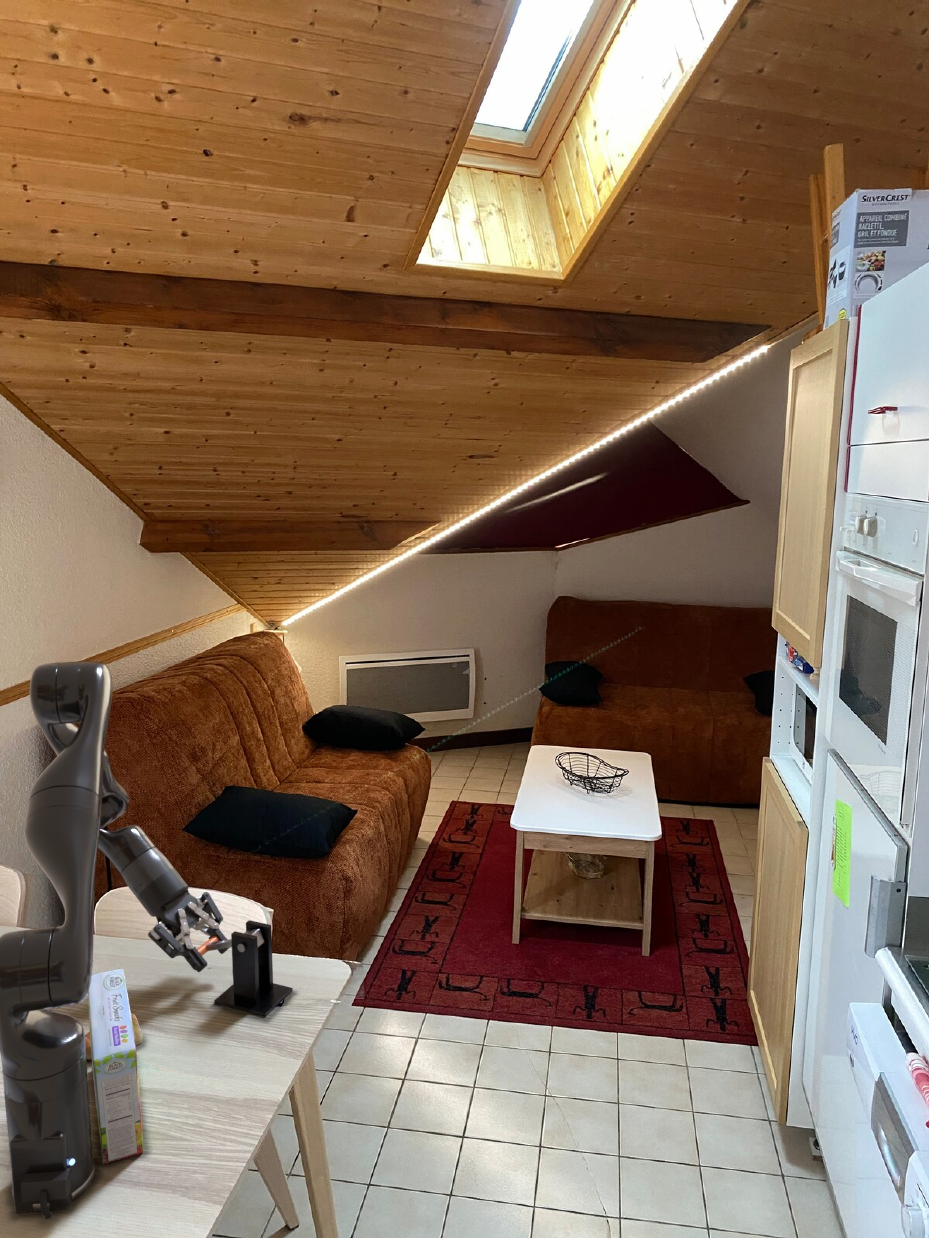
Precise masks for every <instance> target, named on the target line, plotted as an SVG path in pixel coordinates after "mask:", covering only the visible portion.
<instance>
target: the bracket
mask: <svg viewBox="0 0 929 1238" xmlns="http://www.w3.org/2000/svg"><path fill="white" fill-rule="evenodd" d="M254 929H260V931H261V934H262V937H263V939H264V943H262V944H261V945H260V946H259V947H258V943H257V936H254V935H249V934H245V932H246V931H249V930H254ZM245 932H240V931H233V932H231V933H230V936H231V937H230V939H231V942H232V947H231V961H232V962H231V964H232V984H231V985H230V986H229V987H228V988H227V989H226V990H225V991H223V992H221V994H219V996H217V998H215V999H214V1001H213V1003H214V1005H218V1006H222V1007H224V1008H229V1009H233V1010H237V1011H241V1012H244V1013H248V1014H252V1015H256V1016H259V1017H263V1018H266V1017H268V1016H269V1015H270V1014H271V1013H272V1012H273V1010H276V1008H277V1007H278V1006H279V1005H280V1004H281V1003H282V1002H284V1001H285V999H286V998H287V997H288V996H289V995H290V994H291V993H292V992H294V990H293V987H290V986H287V985H283V984H279V983H275V982H274V970H273V965H274V964H273V943H272V942H273V941H272V938H273V937H272V935H273V934H272V925H271V924H268V923H264V922H260V921H255V920H250V919H248V920H247V921H246V922H245Z"/></svg>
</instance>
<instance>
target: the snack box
mask: <svg viewBox="0 0 929 1238" xmlns="http://www.w3.org/2000/svg"><path fill="white" fill-rule="evenodd" d="M126 983H127V981H126V976H125V971H124V968H123V967H121V968H117V969H113V970H109V971H103V972H98V973H94V974H93V973H92V979H91V984H90V988H89V991H88V994H87V1004H88V1019H89V1020H88V1024H89V1031H90V1041H91V1055H92V1059H91V1067H92V1079H93V1087H94V1099H95V1107H96V1116H97V1125H98V1134H99V1142H100V1143H99V1144H100V1150H101V1162H102V1165H106V1164H110V1163H114V1162H116V1161H120V1160H123V1159H127V1158H129V1157H133V1156H136V1155H139V1154H142V1153H144V1151H145V1150H144V1136H143V1135H144V1134H143V1119H142V1106H141V1105H142V1104H141V1092H140V1091H141V1090H140V1089H141V1088H140V1079H139V1065H138V1055H137V1047H136V1046H137V1045H135V1038H134V1031H133V1024H132V1018H131V1013H132V1012H131V1006H130V1000H129V994H128V988H127V984H126Z"/></svg>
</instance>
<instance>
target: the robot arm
mask: <svg viewBox="0 0 929 1238" xmlns="http://www.w3.org/2000/svg"><path fill="white" fill-rule="evenodd" d="M113 684H114V683H113V676H112V672H111V669H110V668H109V667H108V665H107V664H106V663H104V662H102V661H97V660H83V661H81V660H79V661H60V662H58V661H57V662H49V663H43V664H40V665H38V666H36V667H35V668H34V670H33V672H32V674H31V677H30V682H29V702H30V706H31V710H32V714H33V716H34V718H35V721H36V722H37V724H38V726H39V727H40V730H41V731H42V733H43V735H44V737H45V738H46V740H47V742H48V743H49V745H50V747H51V748H52V749H53V751H54V753H55V754H56V757H55V758H54V760H52V761H51V762H50V763H49V764H48V766H47V767H46V768H44V770H43V771H42V772H41V773H40V775H39V776H38V778H37V779H36V780H35V782H34V784H33V785H32V787H31V788H30V791H29V796H28V802H27V808H26V816H25V823H24V831H23V832H24V839H25V844H26V847H27V849H28V850H29V852H30V854H31V856H32V857H33V859H34V860H35V861H36V863H37V864H38V866H39V868H40V869H41V870H42V871H43V873H44V874H45V876H46V877H47V878H48V880H49V881H50V883H51V884H52V886H53V887H54V890H55V891H56V893H57V896H58V897H59V899H60V901H61V904H62V906H63V910H64V915H65V916H64V922H63V924H62V925H57V926H48V927H39V928H31V929H22V930H21V929H20V930H15V931H9V932H6V933H4V934H1V936H0V1059H1V1071H2V1072H1V1073H2V1081H3V1095H4V1105H5V1118H6V1129H7V1140H8V1141H7V1142H8V1152H9V1162H10V1171H11V1172H10V1173H11V1194H12V1199H13V1202H14V1211H15V1213H26V1212H41V1214H42V1217H44V1218H45V1219H46V1220H50V1219H51V1218H52V1217H53V1214H52V1212H51V1211H52V1210H64V1209H68V1208H69V1207H71V1203H72V1202H73V1201H74V1200H75V1199H77V1198H78V1197H79V1196H80V1195H82V1194H83V1193H84V1192H85V1191H86V1190H87V1189H88V1188H89V1186H90V1185H91V1183H92V1182H93V1180H94V1178H95V1174H96V1163H95V1162H96V1160H95V1156H94V1143H93V1132H92V1118H91V1117H92V1116H91V1105H90V1093H89V1092H90V1090H89V1089H90V1088H89V1079H88V1063H87V1059H86V1044H85V1035H86V1033H85V1028H84V1025H83V1024H82V1023H81V1021H80V1020H79V1019H78V1018H76V1017H74V1016H72V1015H71V1014H67V1013H63V1012H60V1011H59V1012H58V1011H54V1010H50V1009H57V1008H64V1007H70V1006H75V1005H79V1004H80V1003H82V1002H83V1001H85V999H86V998H87V997H88V991H89V988H90V984H91V979H92V975H93V970H94V969H93V968H94V966H93V965H94V932H95V931H94V929H95V928H94V927H95V926H94V925H95V924H94V922H95V921H94V920H95V919H94V918H95V917H94V916H95V915H94V914H95V913H94V912H95V877H96V867H97V858H98V850H99V851H100V852H102V853H103V855H104V856H106V858H107V859H108V860H109V861H110V862H111V864H112V865H113V867H114V868H115V869H116V870H117V871H118V873H119V874H120V876H121V877H122V879H123V880H124V882H125V884H126V886H127V887H128V889H129V890H130V891H131V893H132V894H133V896H135V898H136V899H137V901H139V903H140V905H142V907H143V908H144V909H145V911H146V912H147V914H149V916H150V917H153V918H154V917H155V918H156V922H157V923H156V924H155V926H154V927H152V928H151V929H150V930H149V931H148V933H147V936H148V937H149V938H150V940H152V942H154V943H155V945H157V946H158V947H159V948H160V949H161V950H162V951H163V952H164V954H166V955H167V956H168V957H169V958H170V959H175V958H176V957H183V958H184V959H185V960H186V962H187V963H188V965H190V967H191V968H192V970H194V971H196V972H197V973H200V972H202V971H203V970H205V968H206V967H207V966H208V961H207V960H206V959H205V958H204V956H203V955H201V954H200V953H199V952H198V950H197V947H196V946H194V944H193V942H192V939H191V930H190V929H193V930H195V931H200V932H201V933H203V934H204V935H206V936H207V937H208V940H209V939H211V938H212V937H213V936H217V937H218V938H219V941H223V940H228V938H227V937H226V936H225V935H224V933H223V932H222V931H221V929H220V925H221V923H222V922H223V921H224V917H223V915H222V913H221V911H220V910H219V907H218V906H217V904H216V902H215V901H214V899H213V898H212V896H211V894H210V893H209V892H208V891H205V892H203V893H202V894H201V895H199V896H197V897H196V896H194V895H192V894H191V893H190V892H189V885H188V884H187V882H186V881H185V880H184V879H183V877H182V876H181V875H180V873H179V872H178V871H177V870H176V868H175V867H174V866H173V865H172V863H171V862H170V861H169V859H168V858H167V857H166V856H165V855H164V853H163V852H162V851H160V850H159V848H157V846H156V845H155V844H154V842H153V840H151V839H150V838H149V836H148V835H147V834H146V832H145V831H144V829H143V828H141V826H139V825H138V824H130V825H127V826H125V827H122V828H120V829H117V830H107V829H104V828H105V827H107V826H108V825H110V824H111V823H113V822H114V821H116V820H117V819H118V818H120V817H121V816H122V815H124V814H125V813H126V812H127V811H128V808H129V806H130V797H129V794H128V792H127V790H126V789H125V788H124V787H123V786H122V785H121V784H120V782H119V781H118V780H117V779H116V778H115V777H114V775H113V771H112V770H113V769H112V766H111V762H110V758H109V755H108V752H107V750H106V744H107V743H106V742H107V737H108V729H109V723H110V717H111V711H112V703H113V693H114V689H113V688H114V685H113ZM76 724H79V725H78V726H77V725H76ZM193 946H194V947H193ZM230 948H231V947H229V948H223V949H218V950H217V951H218V953H219V954H220V955H223V954H225V953H226V952H227V951H228V950H229V949H230Z"/></svg>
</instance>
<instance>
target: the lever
mask: <svg viewBox="0 0 929 1238" xmlns="http://www.w3.org/2000/svg"><path fill="white" fill-rule="evenodd" d="M244 933H245V934H249V935H254V936H257V943H258V947H259V946H260V945H261V944H262V943H264V939H263V937H262V934H261V931H260V929H254V930H249V931H246V930H245V932H244ZM229 947H230V948H232V942H231V938H230V939H227V940H223V941H219V938H218V937H217V936H213V937H212V938H211V939H209V938H208V940H207V941H205V942H204V943H203V944H202V945H200V946H198V947H196V949H197V950H198V952H199V953H200V954H201V955H202V956H204V955H205V954H207V953H208V952H210V951H211V952H212V951H218V949H223V948H229ZM230 948H229V949H230Z"/></svg>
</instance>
